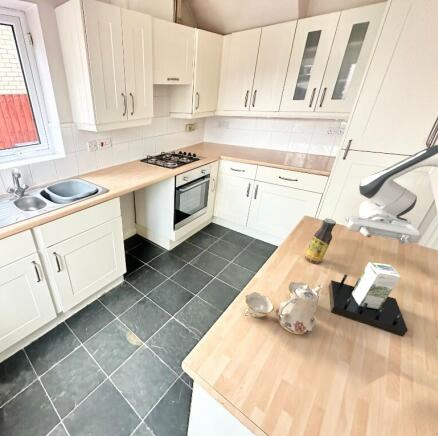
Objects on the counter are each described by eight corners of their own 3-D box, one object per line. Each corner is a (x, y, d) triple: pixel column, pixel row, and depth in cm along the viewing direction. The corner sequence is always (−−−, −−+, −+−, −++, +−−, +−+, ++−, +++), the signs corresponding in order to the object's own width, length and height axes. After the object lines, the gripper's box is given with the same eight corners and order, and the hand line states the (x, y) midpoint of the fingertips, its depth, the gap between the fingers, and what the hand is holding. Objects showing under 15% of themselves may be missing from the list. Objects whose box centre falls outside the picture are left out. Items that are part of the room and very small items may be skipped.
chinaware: (295, 291, 91) (303, 253, 85) (341, 322, 77) (356, 280, 70) (234, 313, 83) (239, 273, 76) (273, 354, 68) (283, 309, 62)
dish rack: (391, 304, 83) (402, 288, 79) (403, 336, 73) (416, 320, 69) (328, 286, 91) (335, 270, 88) (330, 312, 81) (339, 296, 77)
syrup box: (370, 297, 82) (390, 263, 75) (379, 310, 77) (402, 276, 70) (351, 293, 84) (368, 260, 77) (358, 306, 79) (378, 272, 72)
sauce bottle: (301, 257, 106) (315, 217, 97) (311, 254, 108) (326, 215, 99) (314, 266, 101) (331, 225, 92) (325, 262, 103) (342, 222, 93)
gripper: (348, 209, 99) (352, 224, 88) (416, 221, 89) (430, 239, 79) (342, 223, 102) (346, 238, 91) (407, 235, 92) (420, 254, 82)
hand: (385, 239), depth 85 cm, fingers open, 8 cm apart
